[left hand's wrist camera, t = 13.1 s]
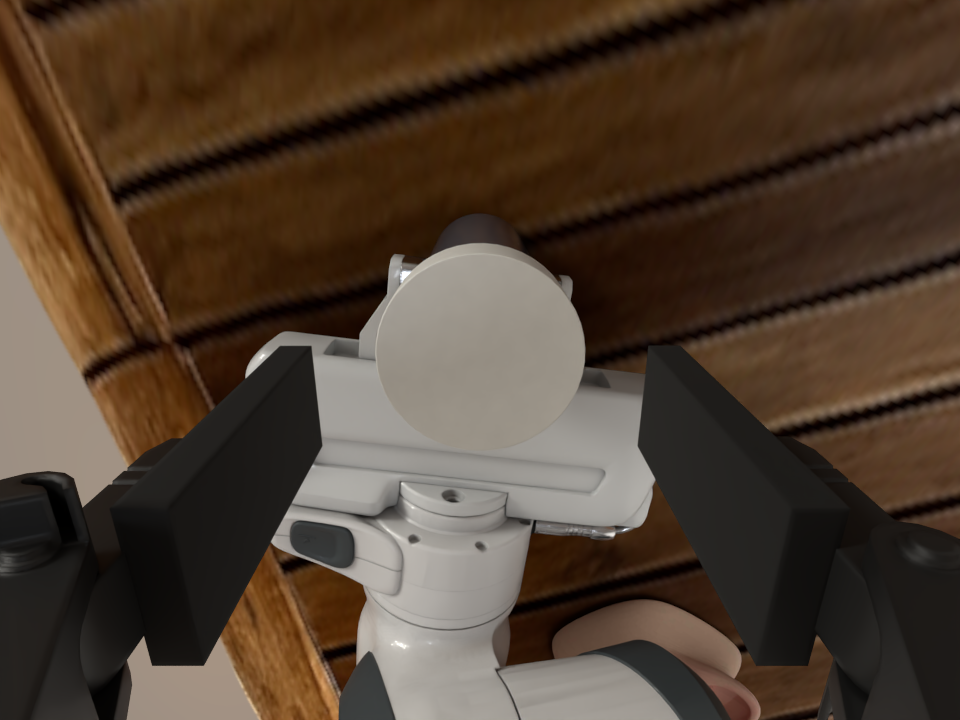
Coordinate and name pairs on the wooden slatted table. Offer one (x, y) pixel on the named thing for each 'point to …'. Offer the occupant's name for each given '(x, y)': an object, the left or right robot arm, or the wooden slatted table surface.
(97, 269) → the wooden slatted table surface
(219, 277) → the wooden slatted table surface
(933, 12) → the wooden slatted table surface
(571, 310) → the lid
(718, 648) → the anatomical model
